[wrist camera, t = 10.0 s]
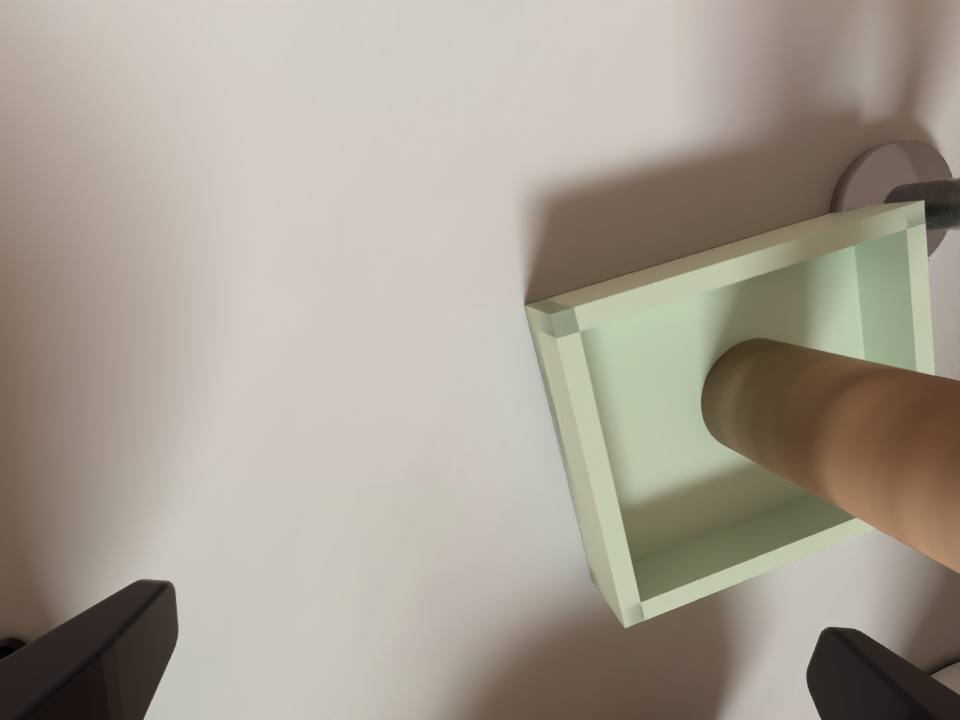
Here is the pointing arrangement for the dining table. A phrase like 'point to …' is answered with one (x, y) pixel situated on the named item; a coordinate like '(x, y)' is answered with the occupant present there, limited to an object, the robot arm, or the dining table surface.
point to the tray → (678, 388)
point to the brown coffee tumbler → (847, 435)
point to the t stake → (903, 185)
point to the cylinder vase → (949, 677)
